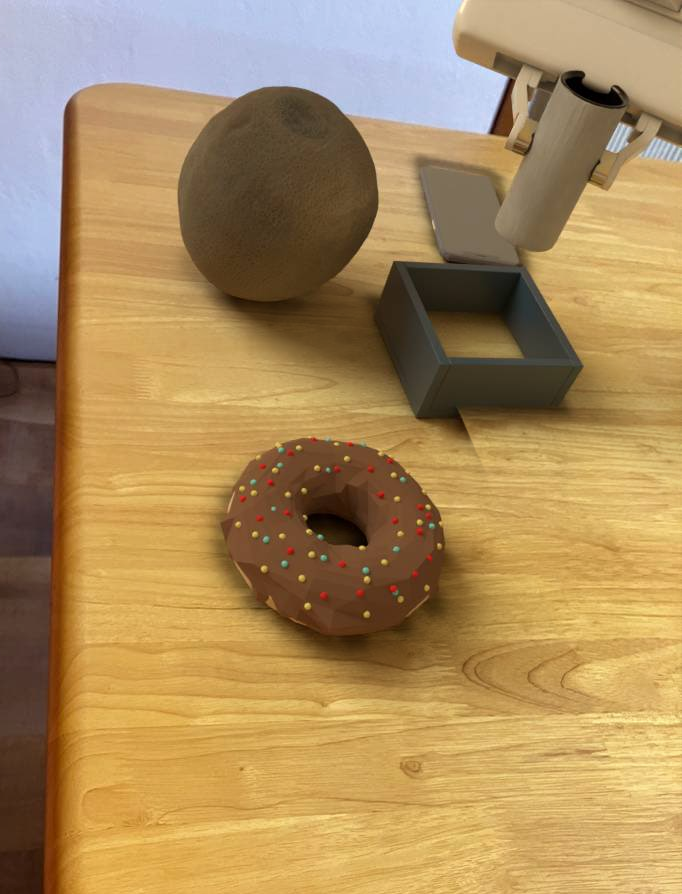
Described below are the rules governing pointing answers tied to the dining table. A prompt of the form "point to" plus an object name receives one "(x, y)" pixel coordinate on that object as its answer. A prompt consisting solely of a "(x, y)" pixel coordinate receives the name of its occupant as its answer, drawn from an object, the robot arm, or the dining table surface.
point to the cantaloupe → (276, 194)
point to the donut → (334, 566)
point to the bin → (462, 378)
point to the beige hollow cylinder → (559, 162)
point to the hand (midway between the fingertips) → (557, 167)
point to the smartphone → (466, 218)
